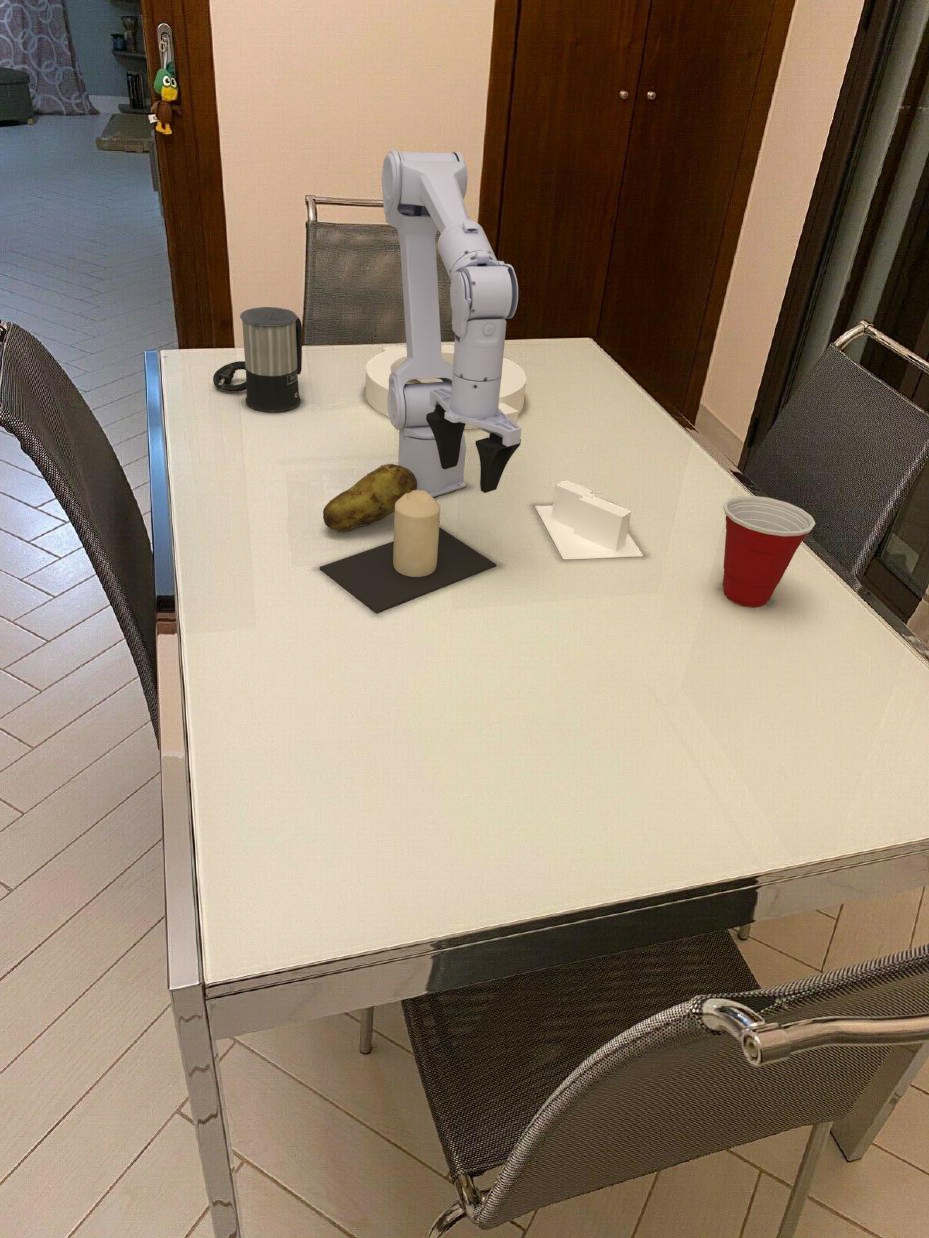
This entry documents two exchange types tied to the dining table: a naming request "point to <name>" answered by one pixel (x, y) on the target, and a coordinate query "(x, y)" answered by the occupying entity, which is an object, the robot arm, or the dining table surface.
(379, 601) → the mat
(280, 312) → the milk frother
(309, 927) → the dining table surface
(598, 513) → the napkin holder
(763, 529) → the plastic cup
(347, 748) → the dining table surface
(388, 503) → the potato
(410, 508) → the candle
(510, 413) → the white circle with bar
